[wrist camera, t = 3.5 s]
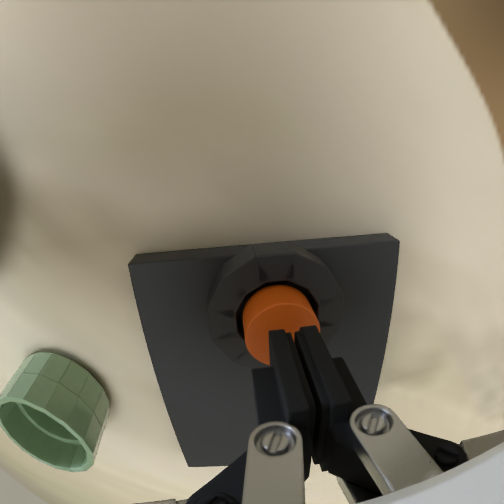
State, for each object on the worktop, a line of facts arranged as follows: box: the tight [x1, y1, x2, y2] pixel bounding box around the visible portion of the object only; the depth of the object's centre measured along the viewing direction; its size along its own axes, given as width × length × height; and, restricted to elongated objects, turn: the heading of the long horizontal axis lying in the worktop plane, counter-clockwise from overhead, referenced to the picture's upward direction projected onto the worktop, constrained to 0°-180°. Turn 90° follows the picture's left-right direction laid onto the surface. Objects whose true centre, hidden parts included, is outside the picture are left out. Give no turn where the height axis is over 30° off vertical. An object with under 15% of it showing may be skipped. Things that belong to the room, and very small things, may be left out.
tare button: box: [243, 285, 320, 365], centre depth 13 cm, size 3×3×2 cm
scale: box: [128, 233, 400, 467], centre depth 17 cm, size 16×13×3 cm
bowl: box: [0, 352, 110, 472], centre depth 15 cm, size 7×7×5 cm
